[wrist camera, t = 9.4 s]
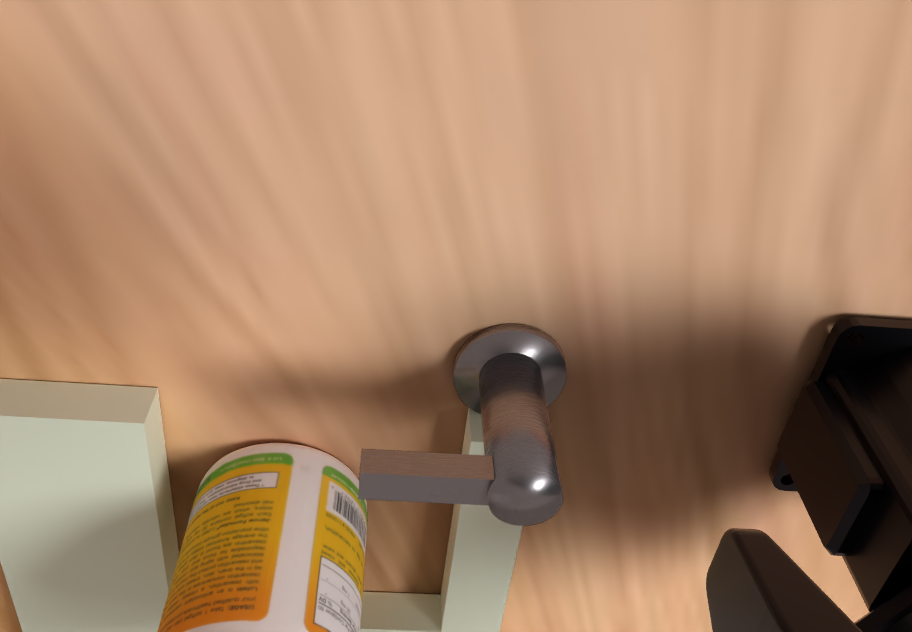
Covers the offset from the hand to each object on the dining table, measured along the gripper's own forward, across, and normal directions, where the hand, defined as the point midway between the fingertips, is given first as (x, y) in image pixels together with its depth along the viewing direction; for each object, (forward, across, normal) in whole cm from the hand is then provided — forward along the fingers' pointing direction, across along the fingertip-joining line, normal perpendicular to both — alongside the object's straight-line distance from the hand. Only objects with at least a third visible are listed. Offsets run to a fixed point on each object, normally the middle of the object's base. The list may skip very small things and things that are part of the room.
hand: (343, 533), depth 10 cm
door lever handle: (+12, -3, +8) cm, 15 cm away
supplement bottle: (+13, +2, +13) cm, 19 cm away
